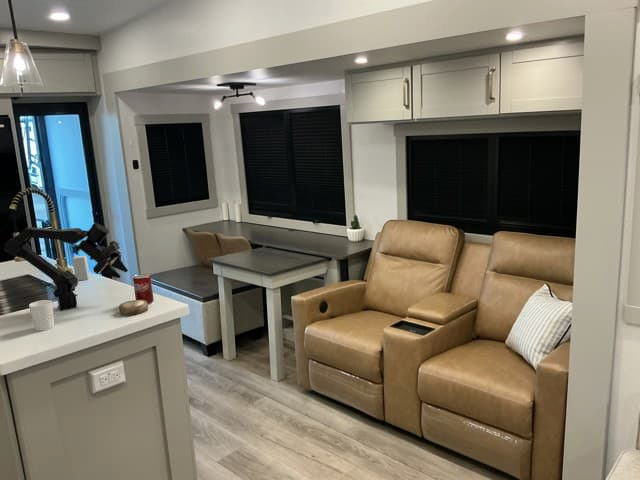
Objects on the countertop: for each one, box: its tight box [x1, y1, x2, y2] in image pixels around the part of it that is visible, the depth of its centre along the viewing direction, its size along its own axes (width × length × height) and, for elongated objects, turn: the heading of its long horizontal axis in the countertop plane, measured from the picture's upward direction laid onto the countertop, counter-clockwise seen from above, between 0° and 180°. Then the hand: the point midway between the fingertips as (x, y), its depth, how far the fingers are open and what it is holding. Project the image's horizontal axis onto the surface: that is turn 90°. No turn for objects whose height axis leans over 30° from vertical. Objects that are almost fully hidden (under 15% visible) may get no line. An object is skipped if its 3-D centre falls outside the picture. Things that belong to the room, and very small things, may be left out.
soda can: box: [132, 273, 155, 305], centre depth 226 cm, size 7×7×12 cm
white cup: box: [28, 299, 55, 332], centre depth 202 cm, size 8×8×10 cm
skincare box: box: [71, 255, 91, 282], centre depth 270 cm, size 6×4×12 cm
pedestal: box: [118, 299, 149, 317], centre depth 217 cm, size 11×11×3 cm
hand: (123, 274), depth 224 cm, fingers open, 9 cm apart
